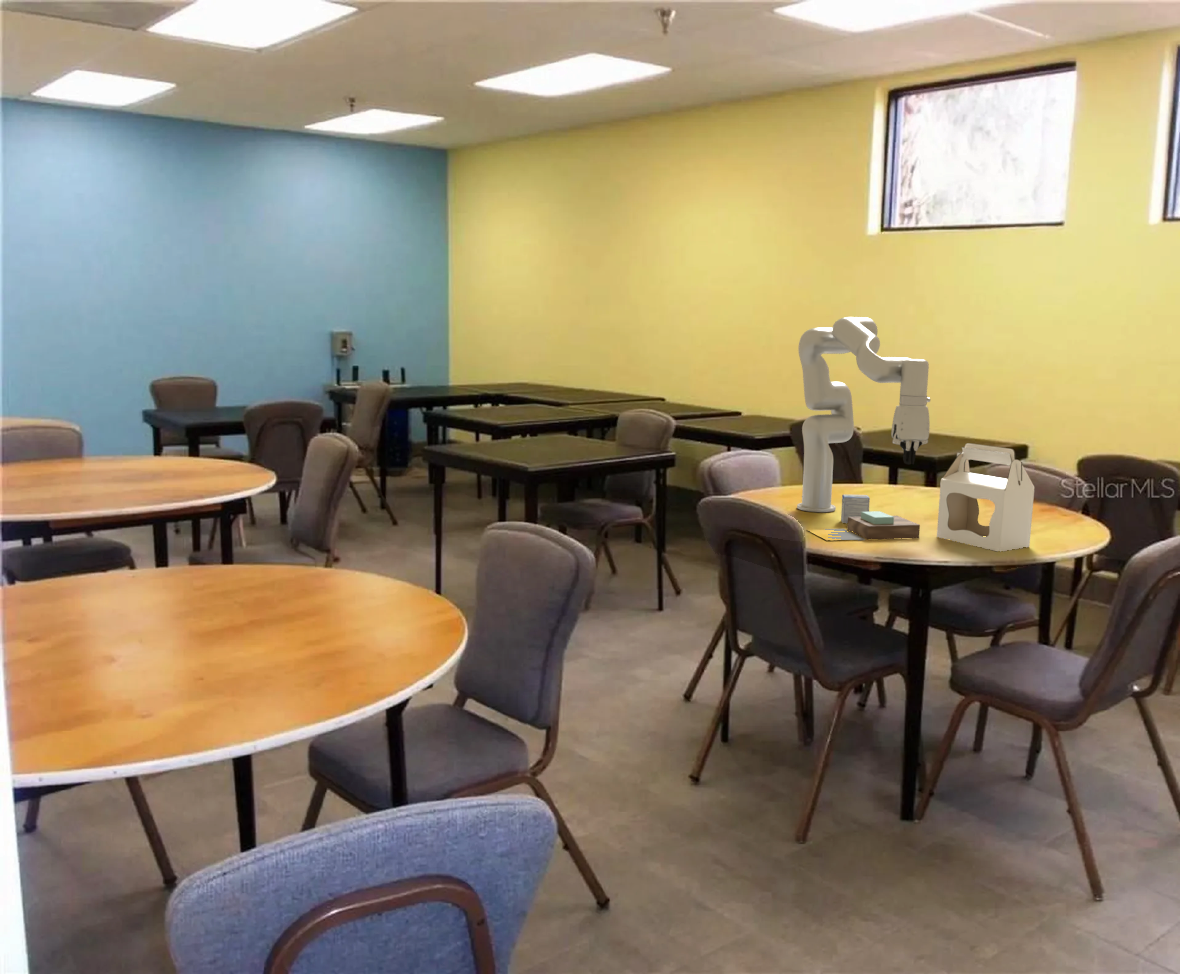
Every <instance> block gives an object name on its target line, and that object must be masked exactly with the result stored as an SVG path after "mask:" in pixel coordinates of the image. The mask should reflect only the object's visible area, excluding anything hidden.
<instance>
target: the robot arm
mask: <svg viewBox="0 0 1180 974" xmlns="http://www.w3.org/2000/svg"><path fill="white" fill-rule="evenodd" d="M880 347H881V341H880V338H879V337H878V325H877V324H876V323H875V321H874V320H873V319H872V318H869V317H866V316H865V317H862V316H861V317H860V316H859V317H858V316H855V317H854V316H846V317H841V318H839V319H837V320H836V321H835V322H834V323H833V325H832V327H826V326H825V327H813V328H809V329H808V330H807V329H806V331H804V332H803V333H802V335H801V336H800V338H799V342H798V350H797V351H798V356H799V360H800V365H801V369H802V378H803V379H802V380H803V394H804V395H803V397H804V402H805V406H806V407H807V409H809V410H811V411H815V412H817V411H830V413H831V414H814V415H811V416H808V417H807V418H806V419H805V420H804V422H803V424H802V427H801V429H802V430H801V432H802V439H803V453H804V454H803V475H802V495H801V502H800V503H797V504H796V508H797V509H798V510H801V511H804V512H809V513H811V512H812V513H830V512H834V511H836V506H835V505H834V504H832V494H833V491H832V490H833V472H834V471H833V470H834V454H833V452H832V449H831V447H830V445H829V444H834V443H835V444H838V443H839V444H840V443H845V442H847V441H849V440H850V439H851V438H852V437H853V434H854V429H855V424H854V410H853V398H852V392H851V390H850V388H849V386H848V385H847V384H846V383H844V382H842V381H831V378H830V370H829V366H828V363H827V361H826V360H825V358H824V357H823V356H822V355H823V354H825V355H828V354H831V355H837V354H838V355H840V354H841V355H842V354H848V353H852V354H853V355H854V356H855V359H856V365H857V368H858V370H859V371H860V372H861V373H863V374H864V375H865V377H867V378H868V379H870V380H871V381H872V382H875V383H878V384H887V383H889V384H890V383H891V384H893V383H894V384H897V383H899V384H900V386H899V388H900V390H899V402H898V403H899V405H896V407H895V410H894V414H893V417H892V418H893V419H892V424H891V434H890V435H891V438H892V444H895V445H899V446H900V448H901V449H902V450H903V453H902V454H903V456H902V460H903V464H905V465H915V461H916V456H917V455H916V454H917V451H918V449H919V448H920V447H921V446H923V445H926V444H928V443H929V440H928V439H929V437H930V429H931V428H930V412H929V407H928V406H927V404H928V403H930V402H931V398H930V397H928V383H929V382H928V381H929V370H930V369H929V368H930V367H929V361H928V360H926V359H923V358H922V359H920V358H910V357H903V356H902V357H900V356H899V357H896V356H894V357H893V356H891V357H890V356H888V357H887V356H886V357H883V356H882V357H881V356H880V355H878V354H877V353H878V352H879V350H880Z"/></svg>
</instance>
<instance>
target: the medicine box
mask: <svg viewBox="0 0 1180 974" xmlns="http://www.w3.org/2000/svg"><path fill="white" fill-rule="evenodd" d="M870 500H871V498H870V497H869V495H867V494H844V493H843V494H842V497H841V512H840V514H841V515H840V516H841V518H840V521H841V523H842V524H843V523H846V524H847V523H848V517H861V512H870ZM846 524H845V525H846ZM847 525H848V524H847Z"/></svg>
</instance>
